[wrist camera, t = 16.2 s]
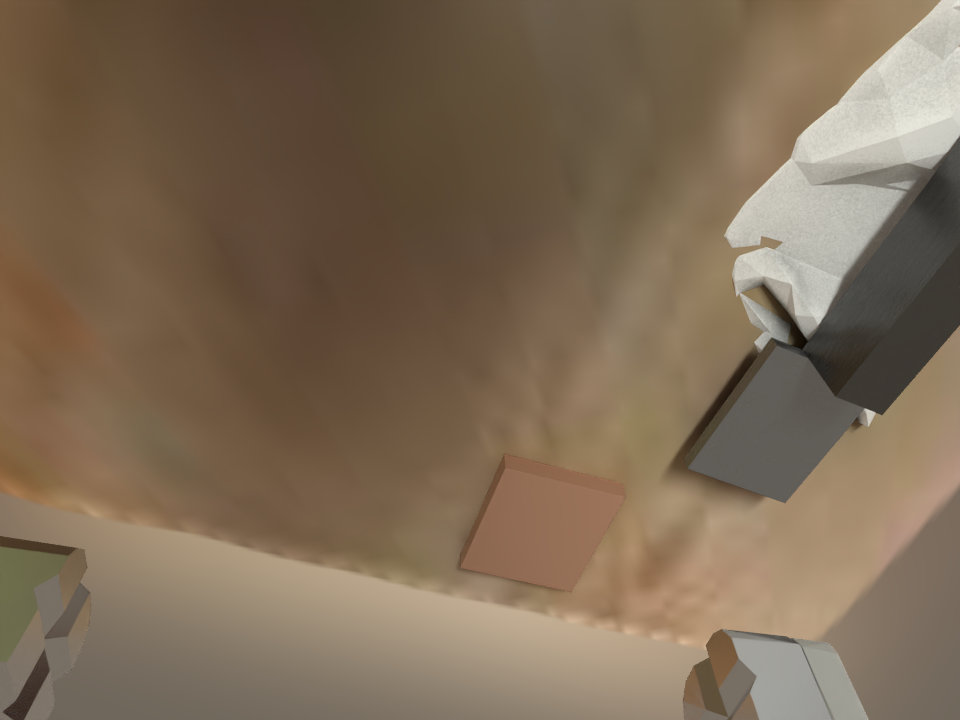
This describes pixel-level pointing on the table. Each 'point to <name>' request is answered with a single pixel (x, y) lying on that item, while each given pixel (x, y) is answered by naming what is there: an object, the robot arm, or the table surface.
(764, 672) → the robot arm
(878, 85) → the cloth
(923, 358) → the turner
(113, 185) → the table surface
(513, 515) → the tile
